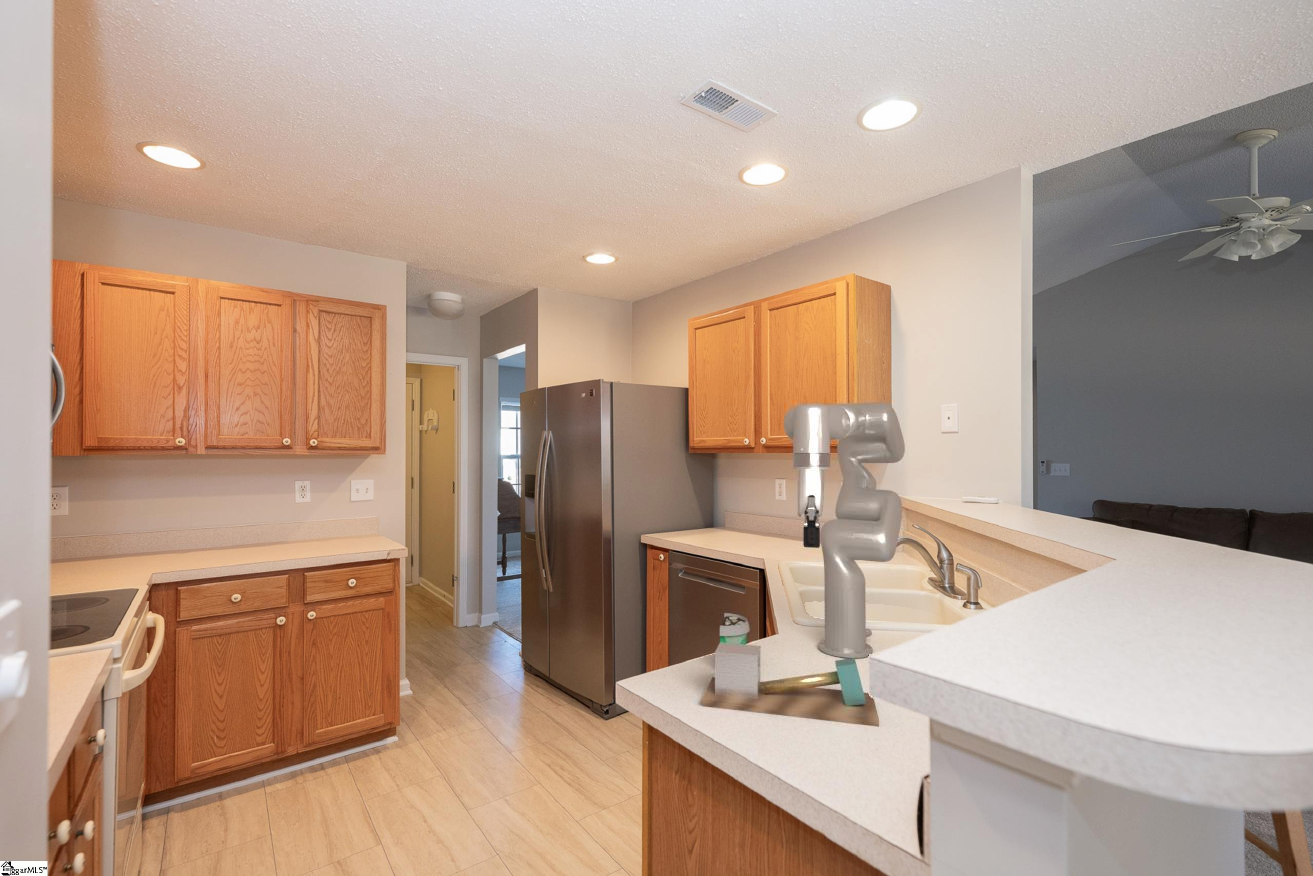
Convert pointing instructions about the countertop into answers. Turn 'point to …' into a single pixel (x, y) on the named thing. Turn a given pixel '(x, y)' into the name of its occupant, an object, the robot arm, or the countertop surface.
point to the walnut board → (798, 704)
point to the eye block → (737, 670)
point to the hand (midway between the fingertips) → (811, 544)
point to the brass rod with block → (825, 682)
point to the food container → (734, 629)
